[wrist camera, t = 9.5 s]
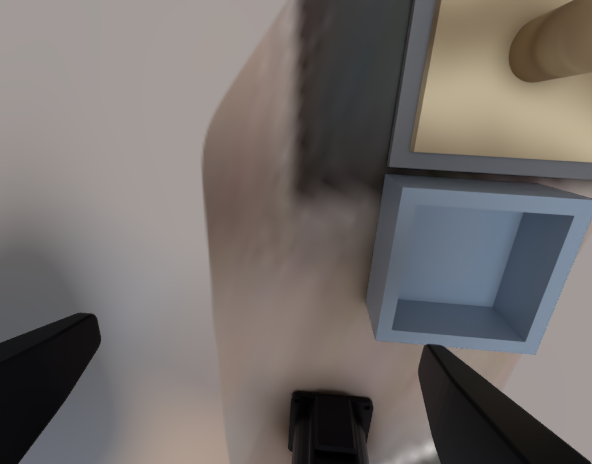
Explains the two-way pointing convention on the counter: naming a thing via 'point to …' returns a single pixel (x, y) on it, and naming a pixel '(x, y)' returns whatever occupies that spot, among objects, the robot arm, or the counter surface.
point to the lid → (508, 80)
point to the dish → (471, 261)
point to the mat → (452, 162)
